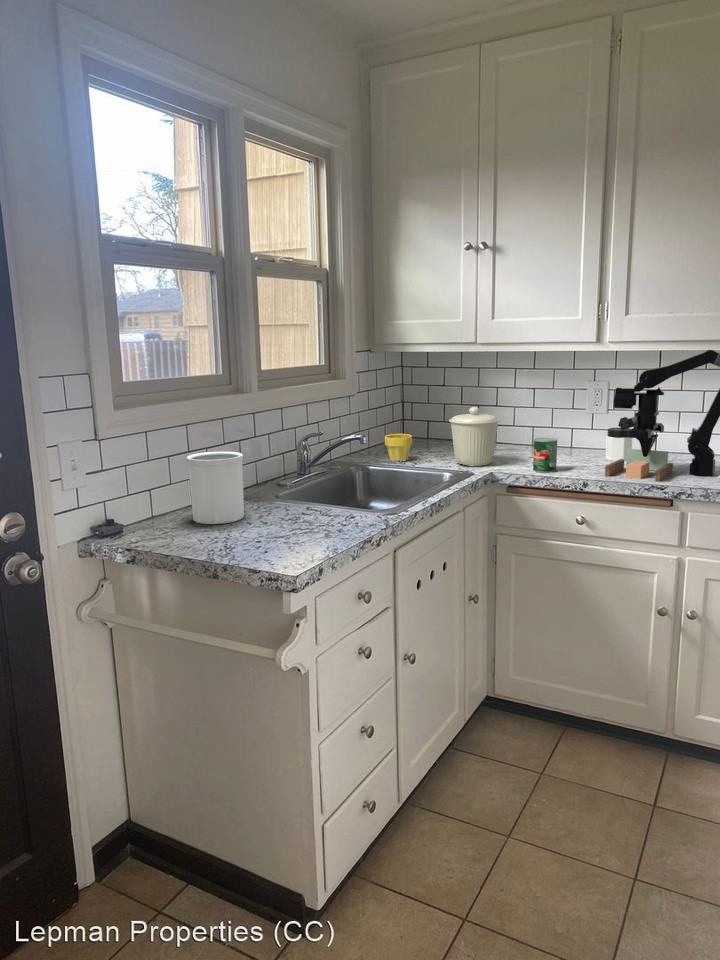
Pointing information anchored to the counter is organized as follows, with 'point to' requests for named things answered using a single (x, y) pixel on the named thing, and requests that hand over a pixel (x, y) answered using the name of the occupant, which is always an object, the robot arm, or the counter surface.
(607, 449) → the jar
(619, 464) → the brown wooden tray
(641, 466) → the peach rectangular block
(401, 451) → the plant pot
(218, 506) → the utensil holder
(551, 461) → the canned tomato
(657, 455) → the pale green rectangular block
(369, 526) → the counter surface
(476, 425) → the canister
